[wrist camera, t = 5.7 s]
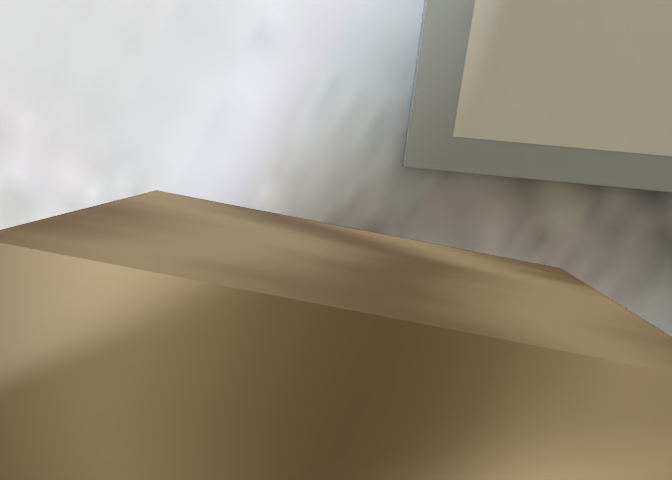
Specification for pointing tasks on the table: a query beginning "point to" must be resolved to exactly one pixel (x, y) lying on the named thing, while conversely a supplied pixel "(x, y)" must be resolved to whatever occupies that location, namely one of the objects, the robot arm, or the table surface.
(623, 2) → the build board
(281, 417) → the oak block
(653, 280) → the table surface
